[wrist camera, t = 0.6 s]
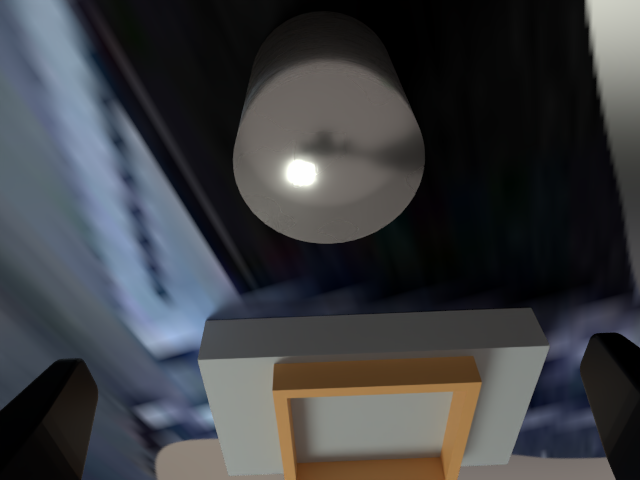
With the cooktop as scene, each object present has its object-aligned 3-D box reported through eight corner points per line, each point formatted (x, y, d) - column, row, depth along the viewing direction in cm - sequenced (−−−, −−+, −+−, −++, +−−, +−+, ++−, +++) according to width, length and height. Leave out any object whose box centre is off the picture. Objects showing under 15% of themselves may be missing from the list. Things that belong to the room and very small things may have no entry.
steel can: (397, 7, 17) (434, 69, 12) (389, 148, 20) (416, 240, 16) (242, 14, 17) (219, 77, 12) (258, 153, 20) (245, 246, 16)
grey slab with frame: (531, 307, 26) (563, 371, 23) (494, 426, 32) (515, 489, 29) (205, 320, 26) (192, 386, 23) (233, 437, 32) (225, 501, 29)
